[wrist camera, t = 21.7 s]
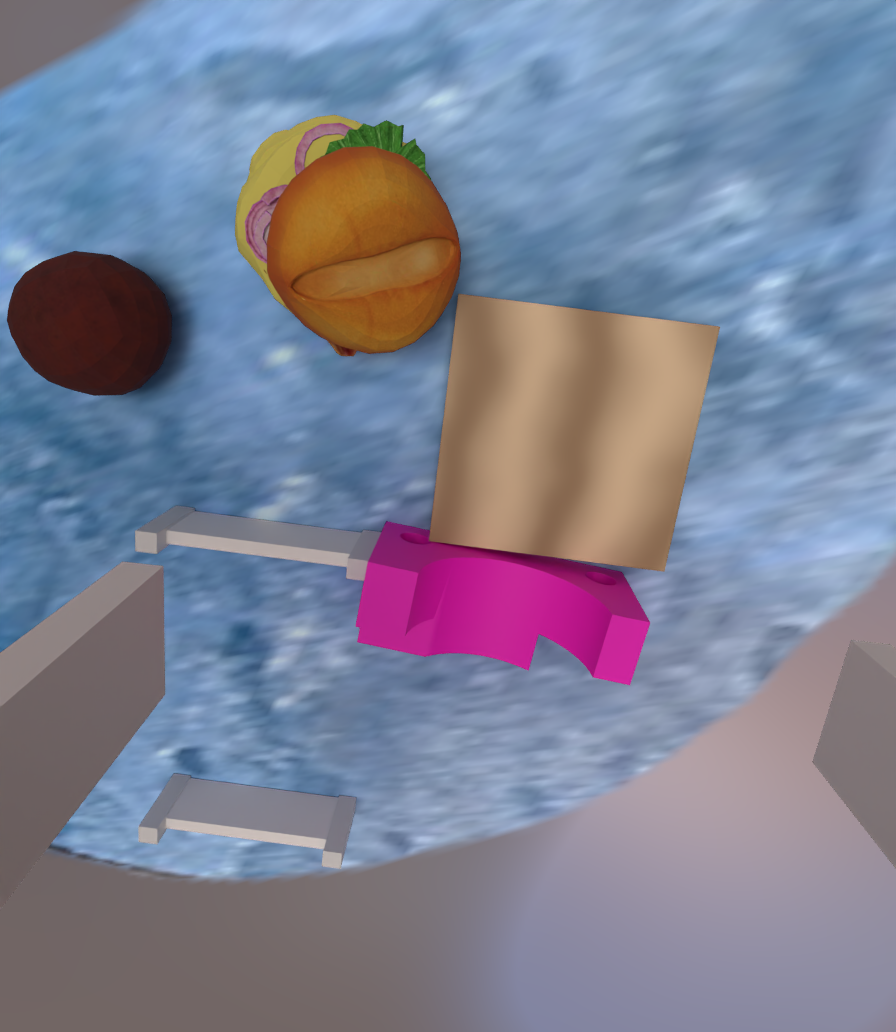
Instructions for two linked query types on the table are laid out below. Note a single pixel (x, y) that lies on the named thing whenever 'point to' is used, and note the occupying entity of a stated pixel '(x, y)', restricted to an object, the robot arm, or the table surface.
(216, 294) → the table surface
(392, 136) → the cheeseburger
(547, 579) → the toy block
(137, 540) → the grey bracket pieces
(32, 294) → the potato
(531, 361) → the board
